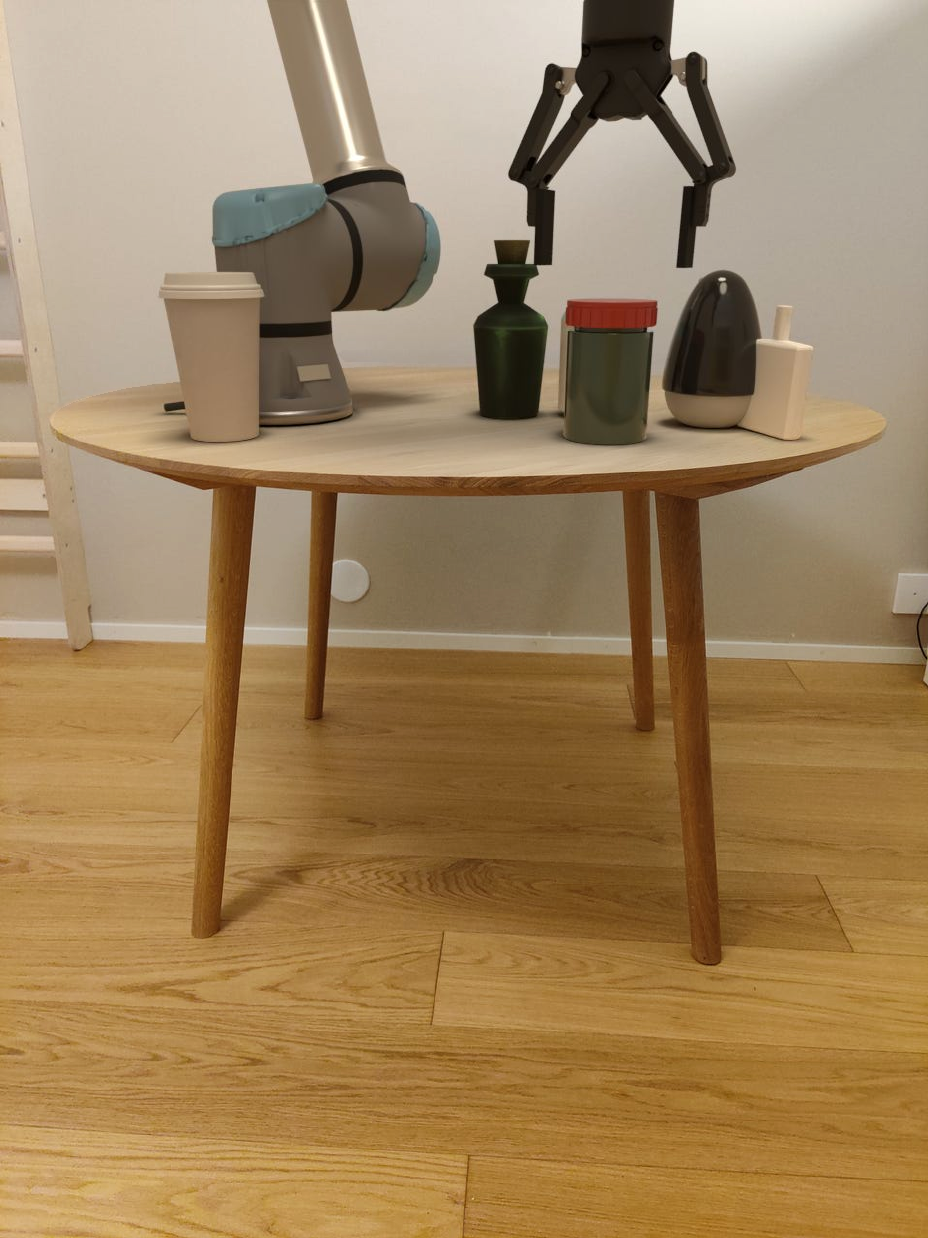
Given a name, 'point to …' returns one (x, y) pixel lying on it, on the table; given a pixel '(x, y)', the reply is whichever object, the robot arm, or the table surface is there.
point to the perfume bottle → (779, 382)
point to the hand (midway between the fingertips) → (611, 266)
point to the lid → (611, 313)
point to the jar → (607, 385)
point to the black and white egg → (713, 353)
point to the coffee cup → (216, 350)
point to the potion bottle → (510, 339)
